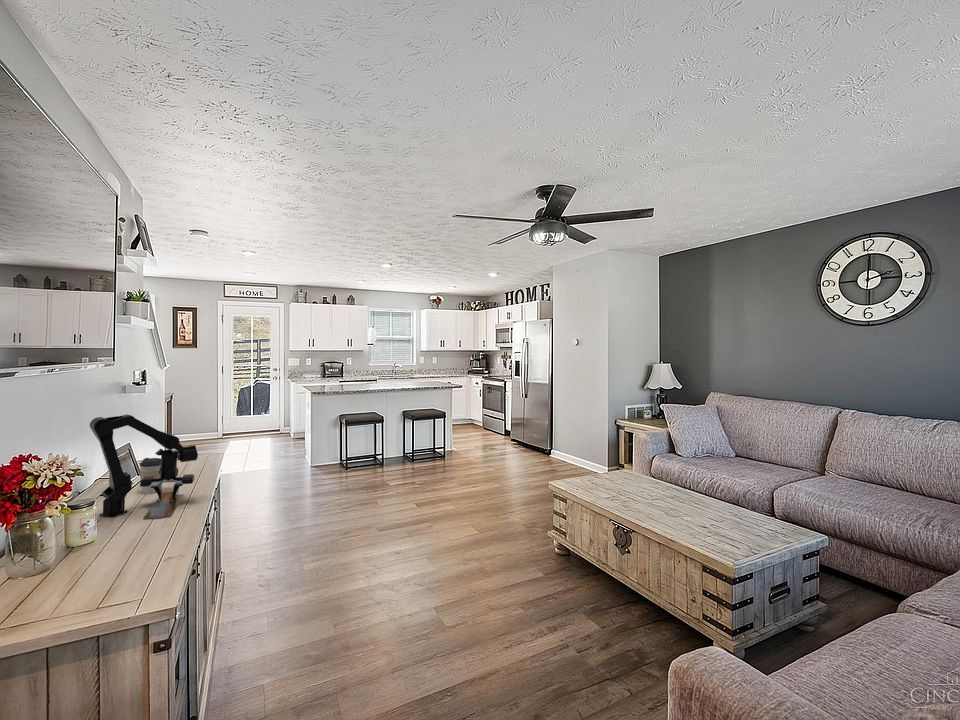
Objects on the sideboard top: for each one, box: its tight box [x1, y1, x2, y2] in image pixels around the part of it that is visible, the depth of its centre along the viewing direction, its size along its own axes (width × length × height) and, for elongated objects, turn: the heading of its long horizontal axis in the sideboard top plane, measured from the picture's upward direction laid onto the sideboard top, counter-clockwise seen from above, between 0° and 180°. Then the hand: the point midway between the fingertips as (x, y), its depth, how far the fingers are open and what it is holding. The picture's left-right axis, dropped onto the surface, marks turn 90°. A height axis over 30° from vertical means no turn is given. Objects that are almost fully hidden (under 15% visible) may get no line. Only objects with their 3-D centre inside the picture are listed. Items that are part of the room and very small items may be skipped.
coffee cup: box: [139, 457, 161, 494], centre depth 209 cm, size 9×9×15 cm
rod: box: [161, 490, 173, 502], centre depth 193 cm, size 16×4×4 cm, turn 24°
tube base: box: [143, 486, 185, 520], centre depth 191 cm, size 28×9×4 cm, turn 24°
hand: (167, 499), depth 195 cm, fingers closed on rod, 4 cm apart
